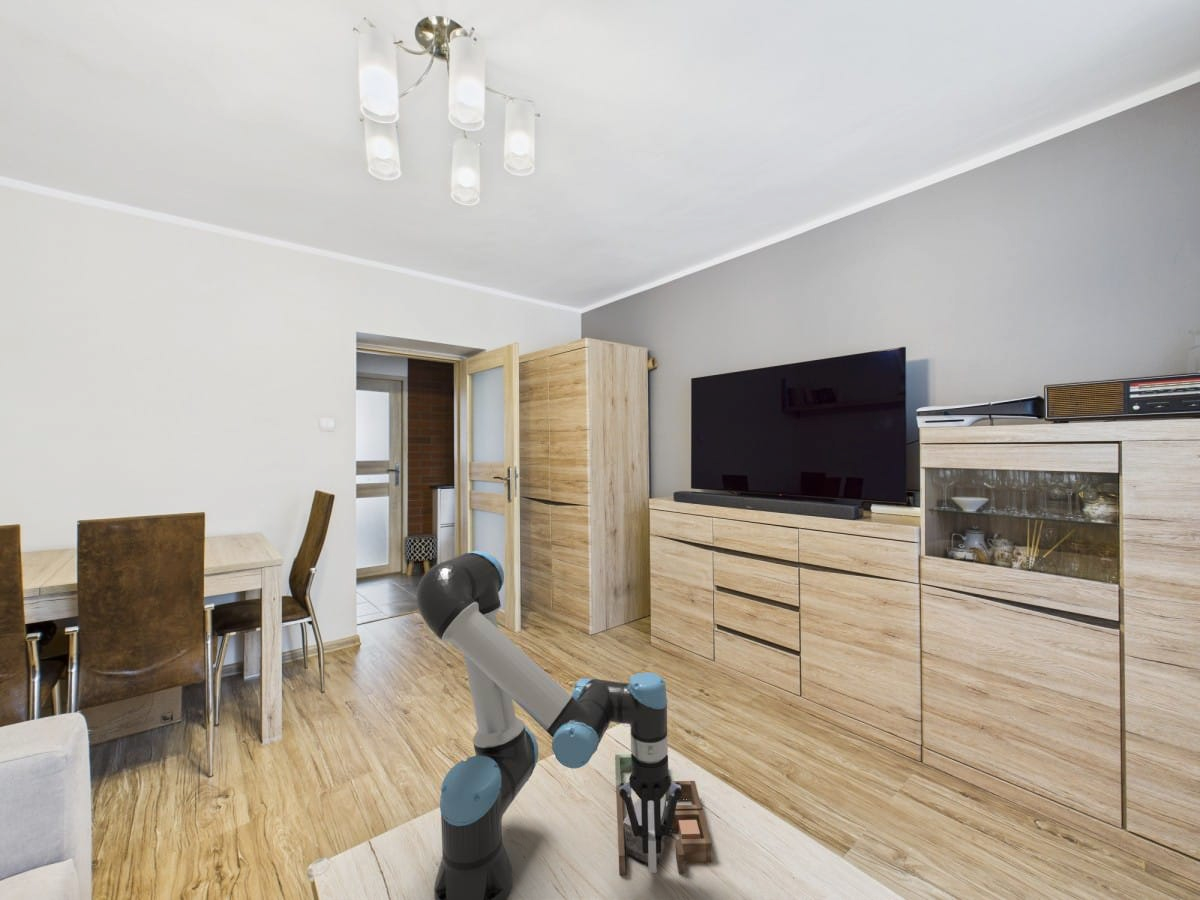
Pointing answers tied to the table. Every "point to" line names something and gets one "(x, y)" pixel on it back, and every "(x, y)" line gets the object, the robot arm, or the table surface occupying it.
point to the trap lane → (684, 847)
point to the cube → (688, 829)
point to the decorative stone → (633, 842)
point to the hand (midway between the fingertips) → (652, 866)
